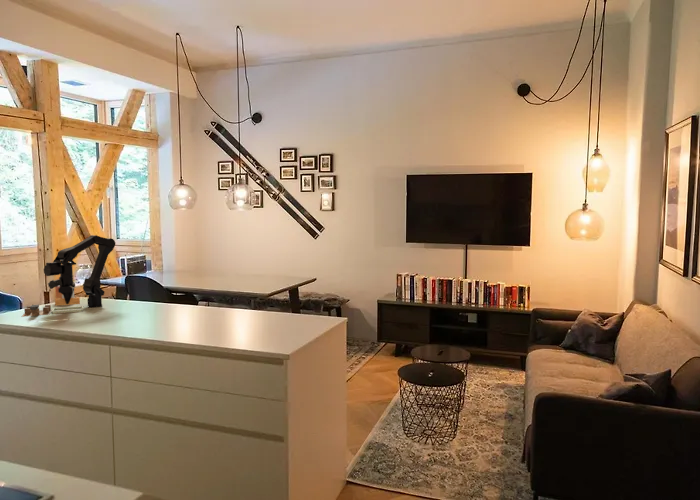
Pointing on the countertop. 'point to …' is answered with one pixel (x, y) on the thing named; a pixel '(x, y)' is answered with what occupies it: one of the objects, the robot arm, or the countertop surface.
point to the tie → (34, 307)
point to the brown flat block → (37, 311)
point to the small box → (59, 295)
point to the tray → (67, 310)
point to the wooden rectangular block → (72, 301)
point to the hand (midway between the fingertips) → (67, 303)
